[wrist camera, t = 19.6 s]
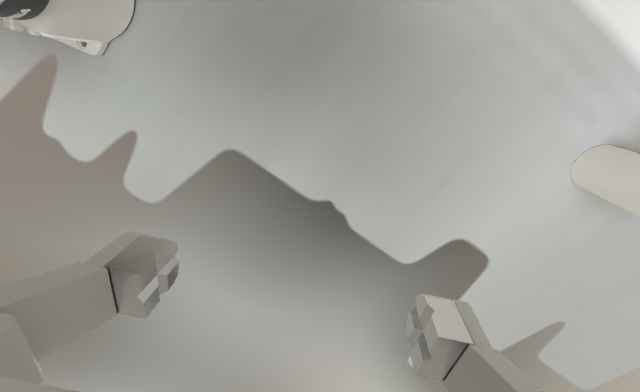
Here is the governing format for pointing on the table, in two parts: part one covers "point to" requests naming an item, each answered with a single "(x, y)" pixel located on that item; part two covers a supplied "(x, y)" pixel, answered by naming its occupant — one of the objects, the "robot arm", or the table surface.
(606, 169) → the cylindrical container
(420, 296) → the robot arm
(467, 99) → the table surface
